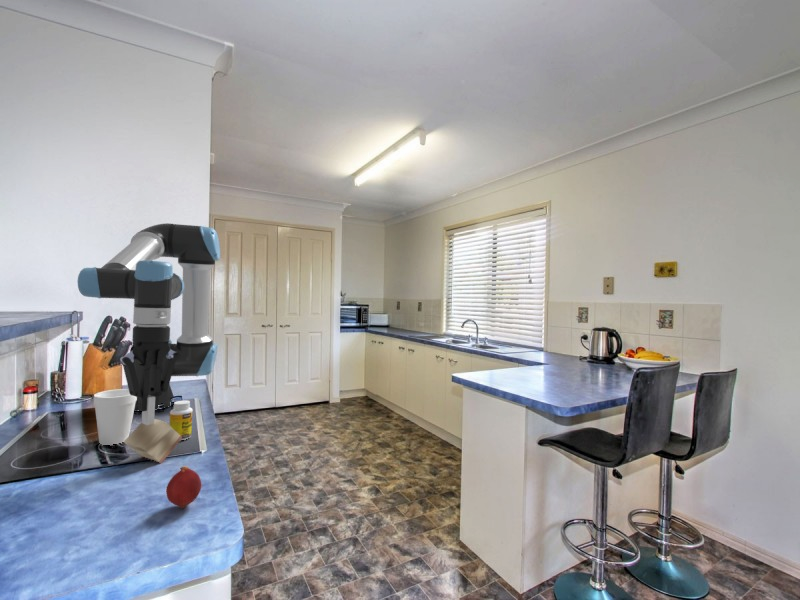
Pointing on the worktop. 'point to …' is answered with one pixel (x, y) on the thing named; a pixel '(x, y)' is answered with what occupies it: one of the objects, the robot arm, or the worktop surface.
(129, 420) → the foam cup
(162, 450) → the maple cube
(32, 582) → the worktop surface
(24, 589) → the worktop surface
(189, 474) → the onion
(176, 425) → the supplement bottle
